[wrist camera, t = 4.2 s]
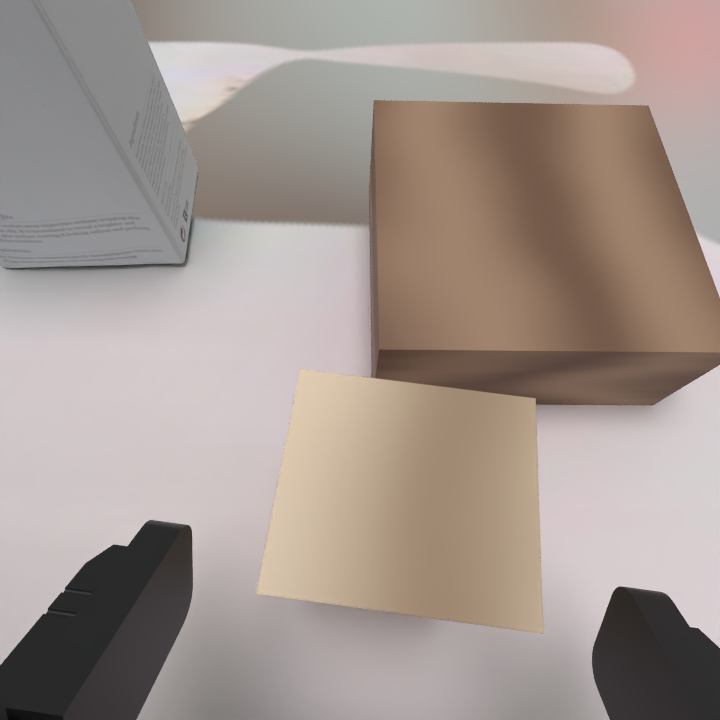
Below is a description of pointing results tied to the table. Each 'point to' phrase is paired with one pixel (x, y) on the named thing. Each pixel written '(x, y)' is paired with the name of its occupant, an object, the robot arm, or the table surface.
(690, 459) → the table surface
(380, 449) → the oak post
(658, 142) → the walnut block
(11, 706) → the robot arm
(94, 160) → the skincare box
